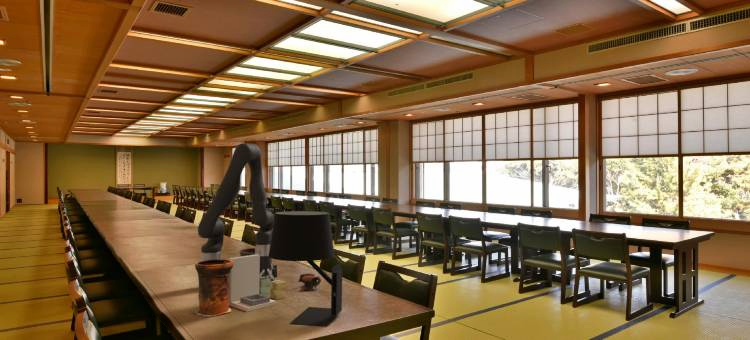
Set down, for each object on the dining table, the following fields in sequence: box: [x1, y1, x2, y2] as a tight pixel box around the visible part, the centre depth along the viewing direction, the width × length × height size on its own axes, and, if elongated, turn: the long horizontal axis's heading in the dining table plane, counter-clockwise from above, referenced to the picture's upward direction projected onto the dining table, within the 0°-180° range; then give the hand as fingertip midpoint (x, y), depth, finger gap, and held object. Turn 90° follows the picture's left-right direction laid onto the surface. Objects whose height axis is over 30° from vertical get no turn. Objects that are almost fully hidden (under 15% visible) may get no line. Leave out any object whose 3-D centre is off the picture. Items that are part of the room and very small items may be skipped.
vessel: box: [194, 258, 233, 317], centre depth 178 cm, size 14×14×20 cm
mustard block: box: [269, 279, 287, 300], centre depth 201 cm, size 5×5×7 cm
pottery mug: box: [297, 273, 322, 291], centre depth 219 cm, size 12×10×8 cm
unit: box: [228, 254, 277, 313], centre depth 189 cm, size 14×14×20 cm
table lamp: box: [269, 210, 343, 328], centre depth 175 cm, size 26×28×40 cm
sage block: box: [259, 277, 271, 296], centre depth 207 cm, size 5×5×7 cm
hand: (263, 289), depth 207 cm, fingers open, 8 cm apart
